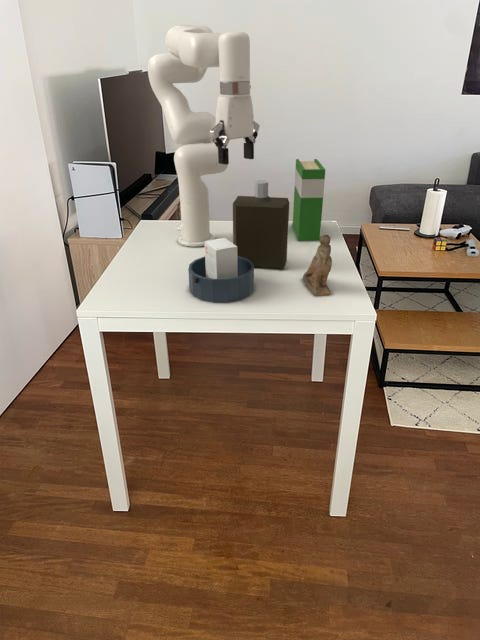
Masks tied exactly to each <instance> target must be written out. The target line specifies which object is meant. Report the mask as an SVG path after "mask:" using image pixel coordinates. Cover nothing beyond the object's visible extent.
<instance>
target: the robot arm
mask: <svg viewBox="0 0 480 640" xmlns="http://www.w3.org/2000/svg"><path fill="white" fill-rule="evenodd" d="M250 41H251V40H250V36H249V34H248V33H246V32H244V31H226V32H214V31H213V30H212V29H211V27H209V26H207V25H192V24H180V25H179V24H178V25H174V26H172V27H171V28H169V30H168V31H167V33H166V35H165V40H164V42H165V46H166V49H167V51H168V52H163V53H162V52H161V53H156V54H155V55H152V56H151V57H150V58H149V60H148V63H147V75H148V81H149V84H150V88H151V90H152V92H153V94H154V95H155V97H156V99H157V101H158V103H159V104H160V106H161V108H162V111H163V115H164V118H165V121H166V124H167V128H168V132H169V135H170V137H171V139H172V141H173V143H174V144H176V145H179V146H180V147H179V148H177V149H176V150H175V151H174V154H173V162H174V166H175V171H176V177H177V182H178V193H179V205H180V220H181V223H180V225H179V226H177V227H176V230H177V231H178V232H180V235H179V236H178V238H177V242H178V243H179V244H180V245H181V246H185V247H192V248H194V247H195V248H198V247H205V241H207V240H214V239H215V235H214V234H213V233H211V228H210V227H211V226H210V225H211V224H210V201H209V200H210V199H209V196H210V195H209V189H208V186H207V184H206V183H205V182H204V181H203V179H202V178H201V177H202V176H206V175H207V176H208V175H216V174H220V173H223V172H225V171H226V170H227V169H228V166H229V163H230V161H229V158H230V157H229V147H228V145H229V142H230V141H231V140H232V141H233V140H238V139H243V140H244V142H243V158H244V159H246V160H254V159H255V144H256V142H257V141H256V139H257V137H258V134H259V130H260V124H259V123H258V122H256V121H255V120H254V107H253V100H252V99H253V98H252V95H251V89H252V86H251V42H250ZM208 68H218V69H219V71H218V72H219V73H218V74H219V96H217V100H216V108H215V115H213V113H211V112H208V111H197V112H195V111H193V110H192V109H191V107H190V103H189V101H188V99H187V97H186V95H185V94H184V93H183V92H182V91H181V90H180V89H179V88H177V87H176V86H175V85H174V84H194V83H199V82H200V81H202V80H203V78H204V77H205V74H206V72H207V70H208Z"/></svg>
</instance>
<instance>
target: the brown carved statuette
mask: <svg viewBox="0 0 480 640" xmlns="http://www.w3.org/2000/svg"><path fill="white" fill-rule="evenodd" d="M330 243H331V236H330V235H329V234H323V235H322V236H320V241H319V245H318V246H317V249H316V252H315V255H314V256H313V257H312V260H311V262H310V264H309V267H308V268H307V270H306V271H305V272H304V273H303V275H302V282H303V283H304V284H305V287H306V288H307V289H308V290H309V291H310V292H311V294H312V295H313V296H315V297H321V296H331V289H330V287H329V286H328V285H327V282H328V277H329V275H330V272H331V270H332V266H333V259H332V256H331V252H332V247H331V244H330Z"/></svg>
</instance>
